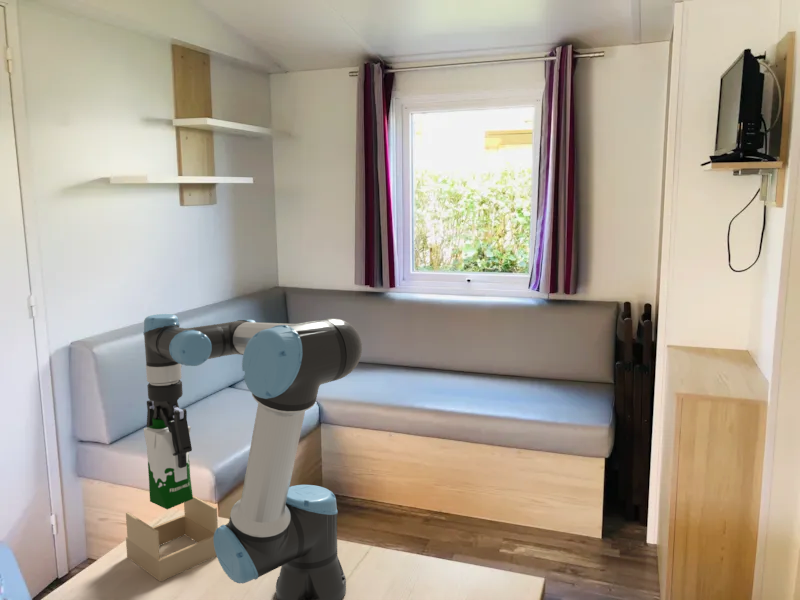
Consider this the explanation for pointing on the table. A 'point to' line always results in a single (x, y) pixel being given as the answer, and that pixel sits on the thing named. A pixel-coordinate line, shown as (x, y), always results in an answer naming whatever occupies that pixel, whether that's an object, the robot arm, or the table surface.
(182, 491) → the soya milk
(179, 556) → the wooden tray box
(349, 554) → the table surface
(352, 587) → the table surface
